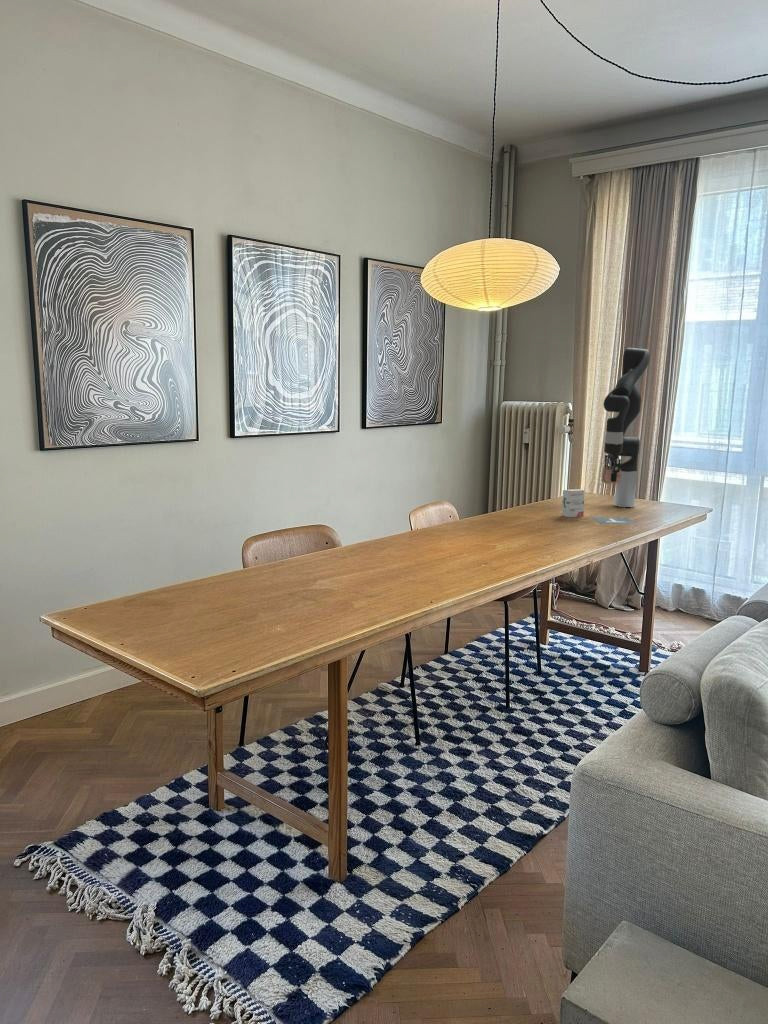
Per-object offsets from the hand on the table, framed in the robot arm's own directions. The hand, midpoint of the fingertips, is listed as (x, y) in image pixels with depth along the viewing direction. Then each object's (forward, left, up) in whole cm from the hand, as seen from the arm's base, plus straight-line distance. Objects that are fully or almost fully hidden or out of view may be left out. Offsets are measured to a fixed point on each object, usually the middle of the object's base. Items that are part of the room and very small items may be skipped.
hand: (611, 480), depth 336 cm
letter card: (+8, 0, -17) cm, 18 cm away
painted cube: (0, 0, -1) cm, 1 cm away
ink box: (-2, -15, -17) cm, 23 cm away
